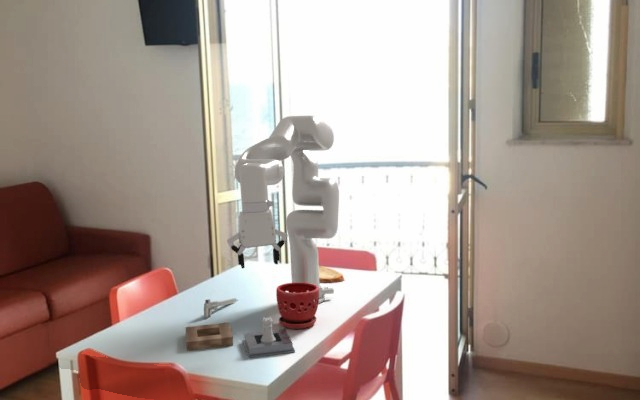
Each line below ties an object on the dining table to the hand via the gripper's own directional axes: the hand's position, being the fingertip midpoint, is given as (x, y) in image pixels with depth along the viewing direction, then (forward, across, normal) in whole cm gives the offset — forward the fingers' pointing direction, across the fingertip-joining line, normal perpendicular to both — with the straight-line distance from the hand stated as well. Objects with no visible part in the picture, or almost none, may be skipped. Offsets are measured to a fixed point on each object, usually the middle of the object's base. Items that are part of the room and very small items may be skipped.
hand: (259, 265), depth 195 cm
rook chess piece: (+22, 0, +7) cm, 23 cm away
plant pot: (+23, -12, -9) cm, 28 cm away
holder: (+22, 0, +7) cm, 23 cm away
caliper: (+24, +9, -33) cm, 41 cm away
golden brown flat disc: (+25, -32, -59) cm, 72 cm away
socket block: (+22, +16, -4) cm, 28 cm away
